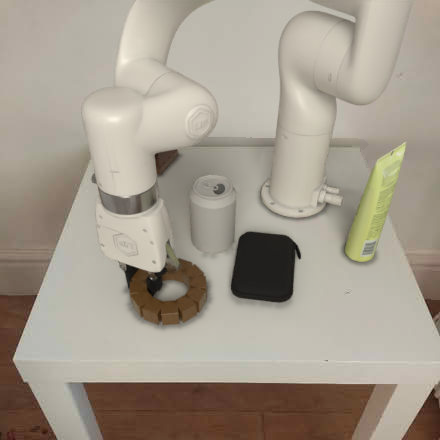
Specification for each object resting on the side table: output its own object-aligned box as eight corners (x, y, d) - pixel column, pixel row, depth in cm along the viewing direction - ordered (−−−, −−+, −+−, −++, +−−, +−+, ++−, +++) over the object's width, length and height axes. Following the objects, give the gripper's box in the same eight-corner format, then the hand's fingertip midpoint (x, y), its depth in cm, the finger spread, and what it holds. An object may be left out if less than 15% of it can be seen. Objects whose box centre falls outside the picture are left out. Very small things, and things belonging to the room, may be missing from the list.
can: (230, 260, 76) (232, 202, 67) (186, 253, 77) (183, 195, 68) (237, 231, 81) (240, 174, 72) (197, 225, 82) (195, 168, 73)
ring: (218, 281, 73) (218, 270, 71) (186, 335, 66) (185, 324, 64) (154, 261, 76) (153, 249, 74) (117, 310, 69) (115, 299, 67)
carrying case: (297, 310, 69) (300, 245, 79) (300, 297, 67) (303, 232, 77) (228, 302, 70) (239, 239, 80) (229, 289, 68) (240, 225, 78)
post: (178, 155, 97) (174, 103, 89) (160, 175, 92) (154, 122, 84) (145, 147, 99) (139, 95, 91) (126, 166, 94) (117, 113, 86)
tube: (342, 239, 80) (371, 138, 65) (371, 241, 80) (407, 140, 65) (345, 262, 76) (376, 160, 62) (375, 264, 76) (414, 162, 61)
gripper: (58, 191, 58) (88, 287, 72) (172, 225, 54) (180, 320, 68) (92, 161, 63) (114, 257, 76) (199, 190, 58) (201, 286, 72)
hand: (145, 286), depth 72 cm, fingers closed on ring, 3 cm apart
